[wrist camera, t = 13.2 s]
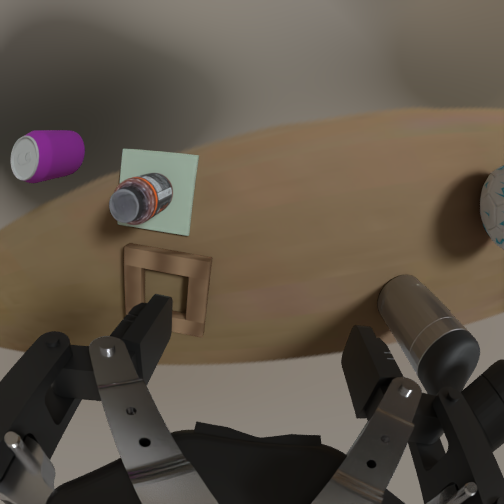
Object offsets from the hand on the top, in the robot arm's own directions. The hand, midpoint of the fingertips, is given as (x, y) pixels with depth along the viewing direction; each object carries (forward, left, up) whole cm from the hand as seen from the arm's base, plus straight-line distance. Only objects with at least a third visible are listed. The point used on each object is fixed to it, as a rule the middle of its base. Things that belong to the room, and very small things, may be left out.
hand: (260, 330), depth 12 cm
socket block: (+13, +17, -31) cm, 38 cm away
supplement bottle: (+16, +1, -31) cm, 35 cm away
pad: (+16, +1, -31) cm, 35 cm away
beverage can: (+33, -4, -32) cm, 46 cm away
